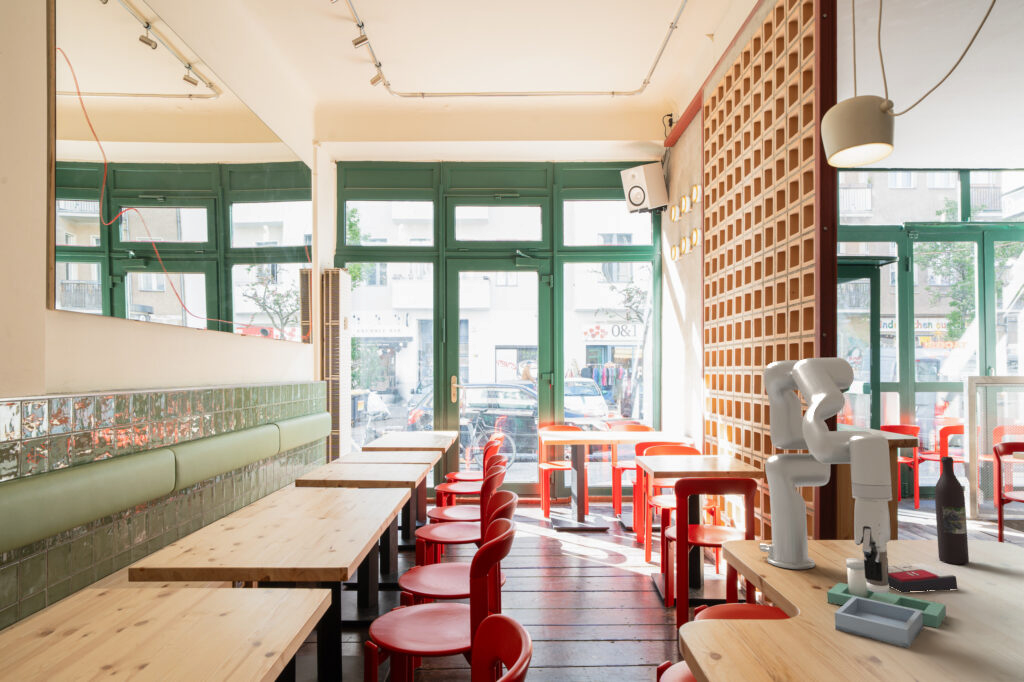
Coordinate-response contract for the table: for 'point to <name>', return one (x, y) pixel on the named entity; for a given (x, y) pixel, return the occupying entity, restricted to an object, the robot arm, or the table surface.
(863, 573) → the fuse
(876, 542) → the robot arm
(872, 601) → the parts tray
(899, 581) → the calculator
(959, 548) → the wine bottle
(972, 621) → the table surface
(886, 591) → the fuse
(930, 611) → the block
